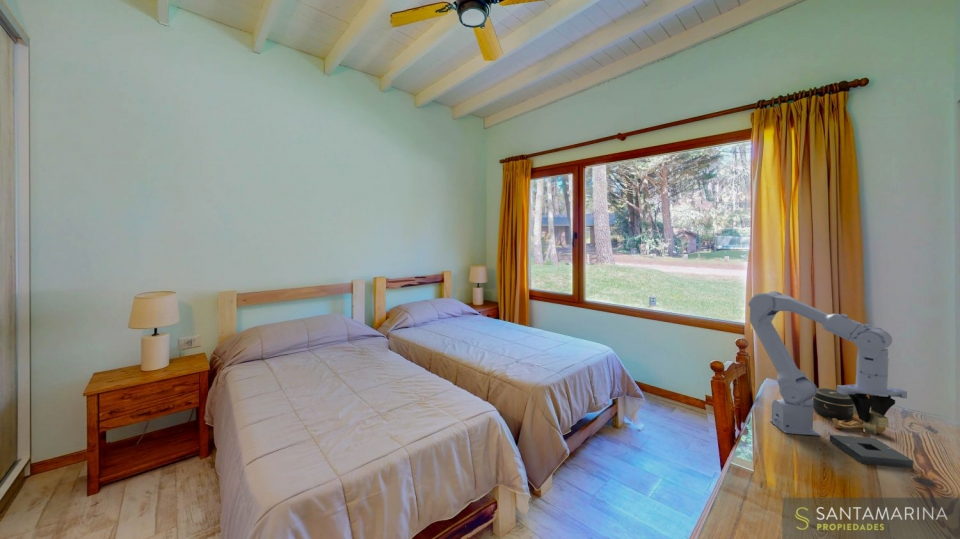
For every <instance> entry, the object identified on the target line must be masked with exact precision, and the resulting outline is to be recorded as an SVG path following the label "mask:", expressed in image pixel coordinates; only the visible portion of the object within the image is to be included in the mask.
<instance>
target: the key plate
mask: <svg viewBox="0 0 960 539" xmlns="http://www.w3.org/2000/svg"><path fill="white" fill-rule="evenodd" d="M829 442H830V443H832V444H833V445H834V446H836V447H837V448H839V449H840V450H841V451H843V452H845V454H848V455H849V456H850V457H852V458H853V459H854V460H856V461H857V462H859V463H861V464H864V465H865V464H866V465H872V466H873V465H876V466H884V467H885V466H886V467H896V468H898V467H899V468H908V469H914V460H913V459H911V458H910V457H908V456H906V455H904V454H903V453H901V452H899V451H898V450H896V449H894V448H893V447H890V446H889V445H887V444H886V443H884V442H883V441H881V440H879V439H877V438H875V437H866V436H864V437H863V436H852V435H841V434H840V435H838V434H829Z"/></svg>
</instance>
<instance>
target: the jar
mask: <svg viewBox="0 0 960 539" xmlns="http://www.w3.org/2000/svg"><path fill="white" fill-rule="evenodd" d="M812 400H813V403H814V406H813V411H814V412H815V413H816V412H817V413H816V414H818V415H820V416H822V417H825V418H827V419H831V420H832V419H833V418H834V419H837V420H838V421H842V420H846V421H847V422H849V421H850V420H851V419H853V417H854V415H855V414H854V413H853V407H854V403H853V401H852V400H851V398H850V397H849V395H848V394H846V395H842V394H840V393H838V392H837V389H833V388H827V387H826V388H825V387H817V394H816V395H815V396H814V397H812ZM846 421H845V422H846Z"/></svg>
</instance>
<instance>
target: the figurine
mask: <svg viewBox="0 0 960 539" xmlns="http://www.w3.org/2000/svg"><path fill="white" fill-rule="evenodd" d="M831 420H832V422H833V426H834V428H836V429H854V428H855V429H856V428H863V423H861V422H860V421H856V420H854V419H853V420H851V421H850V420H849V421H847V422H846V420H842V421H841V420H837V419H834V418H833V419H831ZM886 430H887V427H878V426H876V434H883V433H884V432H885V431H886Z"/></svg>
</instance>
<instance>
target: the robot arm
mask: <svg viewBox="0 0 960 539" xmlns="http://www.w3.org/2000/svg"><path fill="white" fill-rule="evenodd" d="M748 307H749V322H750V324H751V326H752V328H753V330H754V331H755V332H754V333H755V335H757V337H758V339H759V341H760V343H761V345H762V347H763V348H764V351H765V352H766V354H767V356H768V357H769V360H770V361H771V363H772V364H773V367H774V368H775V370H776V372H777V376H776V381H777V384H778V386H779V390H778V391H779V394H780V396H781V398H780V399H773V401H772V403H771V419H770V420H769V421H770V423H772V424H773V425H774V426H775V427H777V428H778V429H780V430H781V431H782V432H784V433H785V434H793V435H794V434H795V435H807V436H817V437H818V436H819V437H820V436H821V433H820V432H818V431H817V430H816V429H814V407H813V406H814V403H813V397H814V396H815V395H816V394H817V388H818V387H817V385H816V384H815V383H814V382H813V381H812V380H810V379H809V378H808V376H807V375H806V373H805V372H803V371H802V370H801V369H799V368H798V367H797V365H796V362H795V361H794V359H793V357H792V356H791V354H790V353H789V351H788V349H787V347H786V345H785V344H784V342H783V340H782V338H781V336H780V335H779V332H778V331H777V330H776V328H775V326H774V324H773V320H774V319H775V318H776V314H778V313H779V312H791V313H795V314H796V315H798V316H801V317H804V318H807V319H809V320H811V321H814V322H816V323H818V324H821V326H822V327H823V330H824V331H825V332H826V331H827V332H829V333H831V334H833V335H836V336H838V337H840V338H842V339H844V340H847V341H849V342H851V343H854V346H856V347H857V354H856V370H855V371H856V372H855V374H856V375H855V384H854V383H853V384H844V385H839V384H838V385H836V390H837V392H838V393H840V394H842V395H846V394H848V395H849V397H850V398H851V400H852V401H853V403H854V405H855V408H856V410H857V413H858V415H857V418H858V419H859V420H861V421H864V422H868V420H869V412H870V409H871V410H873V411H875V412H877V413H879V414H881V415H883V416H885V415H886V414H887V412H888V411H889V410H890V409H891V408H892V407H893V406H894V405H895V404H896V399H894V398H900V399H907V398H908V391H907V390H905V389H902V388H895V387H888V380H889V379H888V378H889V377H888V375H889V361H890V360H889V359H890V358H889V349H888V348H889V347H890V346H891V345H892V343H893V337H892V336H891V334H890V333H889V332H888V331H887V330H884V329H883V328H880V327H871V324H868V323H861V322H859V321H856V320H854V319H851V318H850V317H849V315H848V314H845V313H841V314H840V313H831V314H829V313H826V312H824V311H822V310H821V309H820V310H819V309H818V308H816V307H814V306H812V305H809V304H807V303H805V302H803V301H800V300H798V299H796V298H794V297H792V296H790V295H788V294H783V293H781V292H779V291H774V290H773V291H768V292H761V293H755V294H754V295H753V296H752V297H751V298H750V301H749V303H748ZM892 397H893V398H892ZM885 417H886V416H885Z"/></svg>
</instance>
